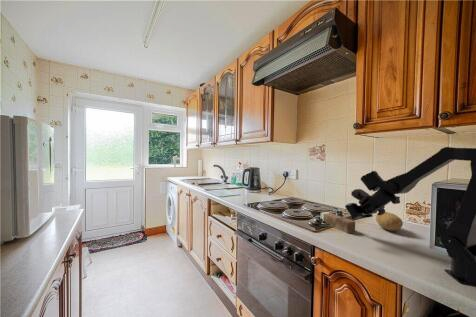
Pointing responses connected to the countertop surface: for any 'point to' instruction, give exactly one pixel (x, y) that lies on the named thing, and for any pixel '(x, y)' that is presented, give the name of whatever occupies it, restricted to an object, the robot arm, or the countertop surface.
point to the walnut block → (339, 222)
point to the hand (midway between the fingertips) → (352, 218)
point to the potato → (389, 221)
